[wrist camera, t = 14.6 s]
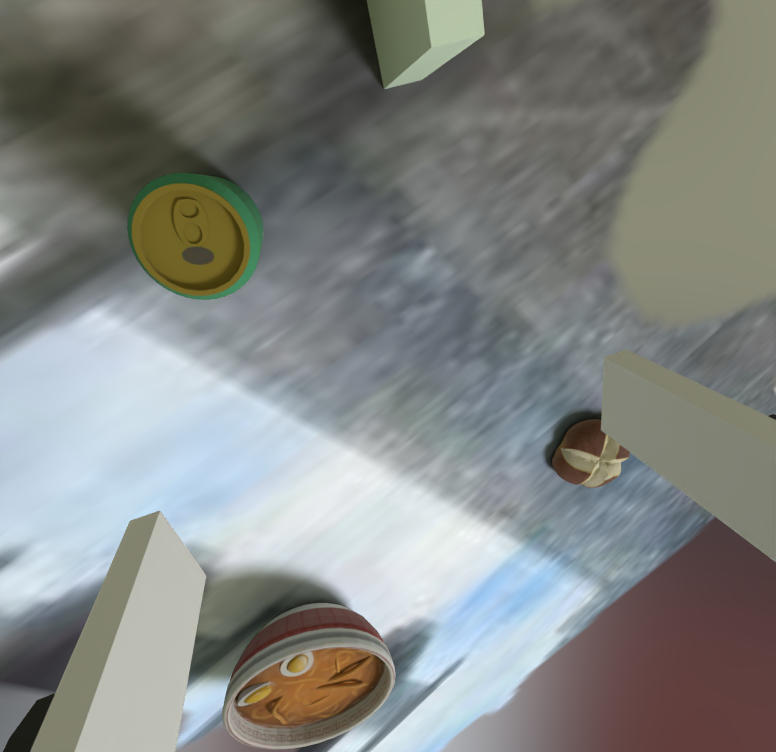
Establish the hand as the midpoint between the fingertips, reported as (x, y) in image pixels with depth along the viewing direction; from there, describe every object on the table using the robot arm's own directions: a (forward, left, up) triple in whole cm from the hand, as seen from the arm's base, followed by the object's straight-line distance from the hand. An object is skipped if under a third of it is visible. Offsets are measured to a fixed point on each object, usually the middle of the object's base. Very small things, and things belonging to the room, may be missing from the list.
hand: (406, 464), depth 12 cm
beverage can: (-9, -1, -32) cm, 33 cm away
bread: (+48, -4, -32) cm, 58 cm away
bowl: (+25, -49, -32) cm, 64 cm away
